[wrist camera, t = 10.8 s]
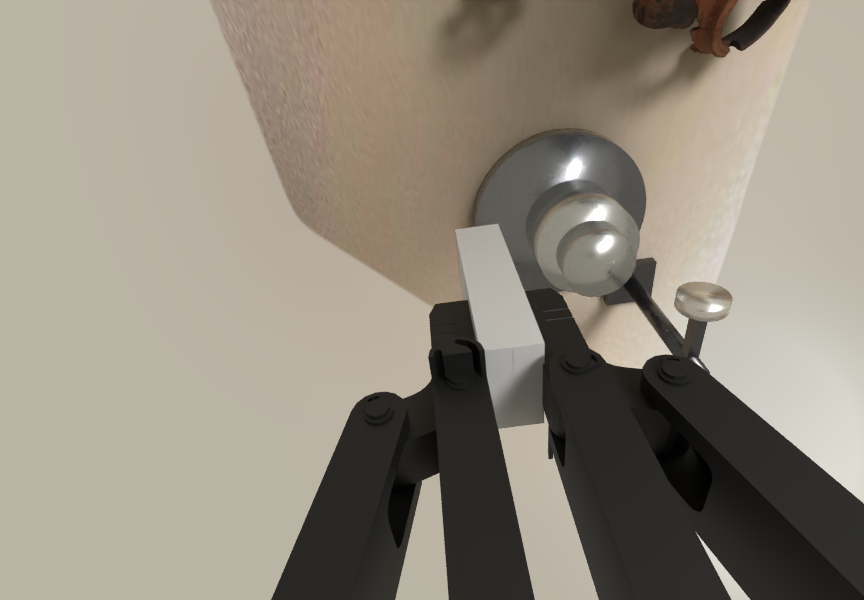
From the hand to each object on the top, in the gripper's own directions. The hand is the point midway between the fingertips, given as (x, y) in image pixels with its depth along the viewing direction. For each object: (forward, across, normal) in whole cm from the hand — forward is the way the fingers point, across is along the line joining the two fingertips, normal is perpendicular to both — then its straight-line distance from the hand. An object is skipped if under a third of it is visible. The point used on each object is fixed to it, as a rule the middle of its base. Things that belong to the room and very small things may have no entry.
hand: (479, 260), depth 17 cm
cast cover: (+28, +12, -13) cm, 34 cm away
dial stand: (+30, +20, -20) cm, 41 cm away
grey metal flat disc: (+30, +11, -13) cm, 35 cm away
